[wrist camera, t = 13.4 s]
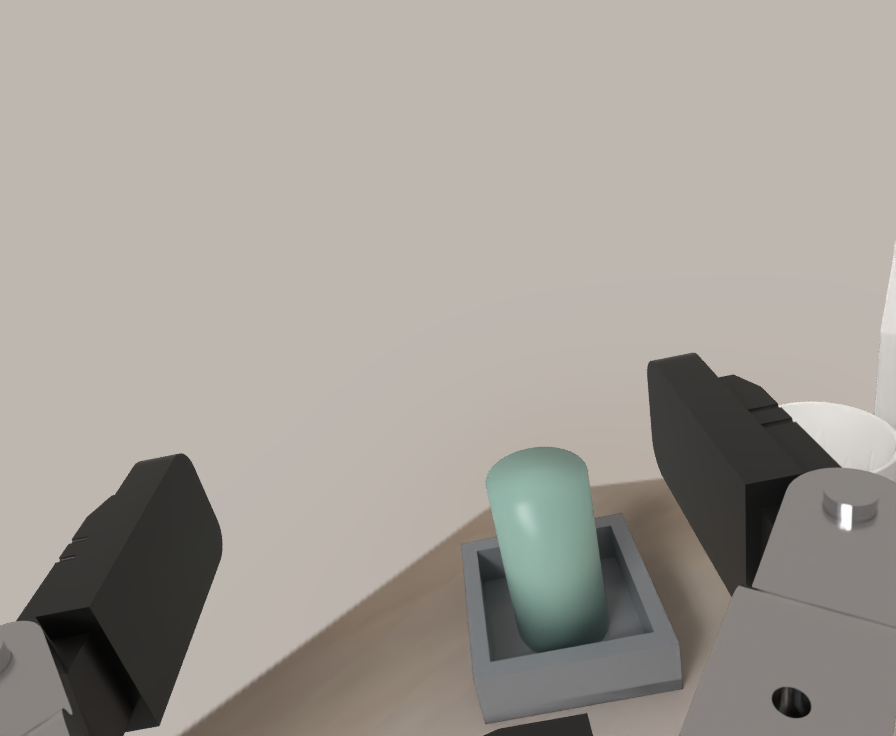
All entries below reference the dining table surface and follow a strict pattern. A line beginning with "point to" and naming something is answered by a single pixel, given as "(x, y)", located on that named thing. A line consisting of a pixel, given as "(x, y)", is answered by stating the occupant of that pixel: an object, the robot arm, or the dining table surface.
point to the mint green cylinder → (549, 547)
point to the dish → (576, 668)
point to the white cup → (848, 435)
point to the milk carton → (888, 356)
